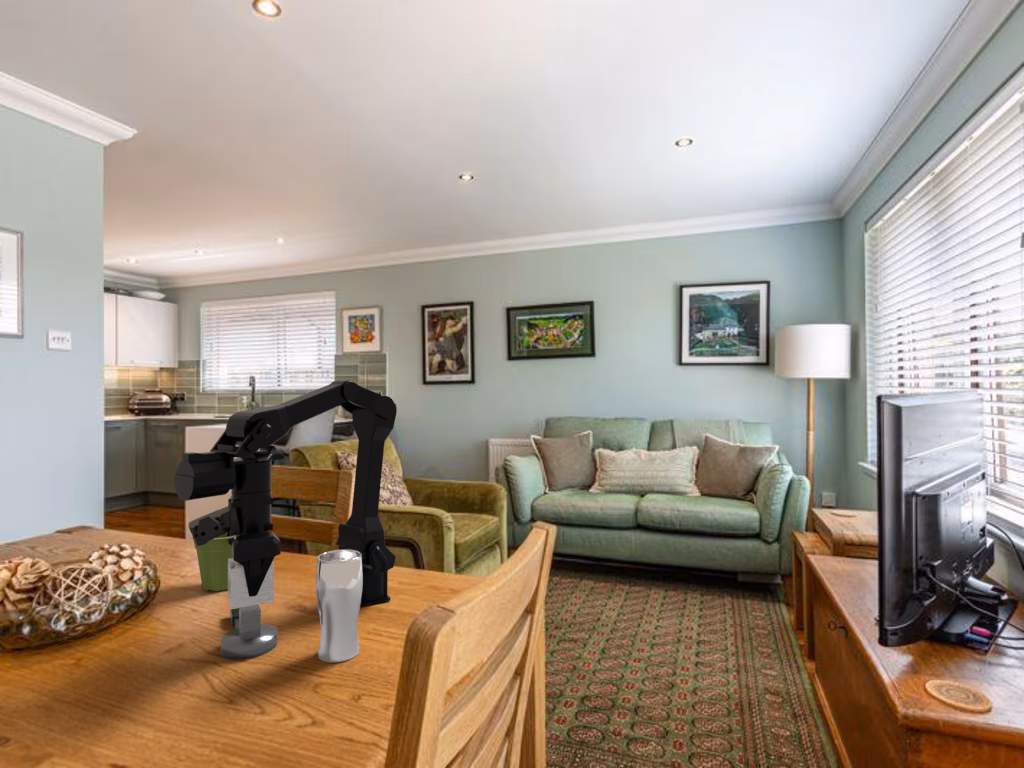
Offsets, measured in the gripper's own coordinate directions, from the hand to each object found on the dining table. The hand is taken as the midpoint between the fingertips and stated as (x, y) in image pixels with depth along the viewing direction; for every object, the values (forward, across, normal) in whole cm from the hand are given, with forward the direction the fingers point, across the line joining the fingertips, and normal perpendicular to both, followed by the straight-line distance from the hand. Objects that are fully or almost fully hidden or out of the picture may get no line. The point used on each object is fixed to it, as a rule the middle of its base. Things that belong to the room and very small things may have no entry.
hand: (250, 589), depth 85 cm
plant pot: (+9, -33, -2) cm, 34 cm away
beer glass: (+9, +9, +12) cm, 17 cm away
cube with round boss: (+2, 0, 0) cm, 2 cm away
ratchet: (+9, -5, 0) cm, 11 cm away
